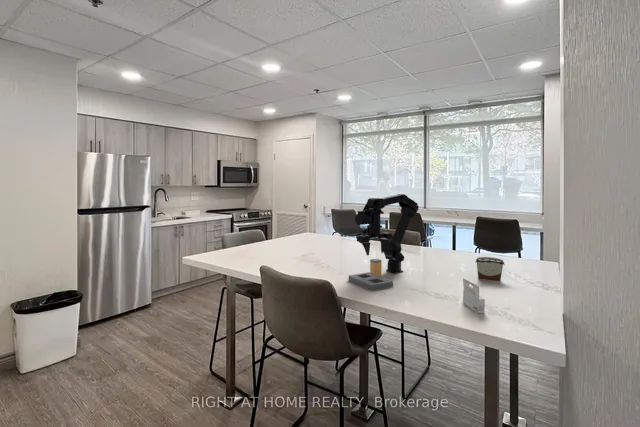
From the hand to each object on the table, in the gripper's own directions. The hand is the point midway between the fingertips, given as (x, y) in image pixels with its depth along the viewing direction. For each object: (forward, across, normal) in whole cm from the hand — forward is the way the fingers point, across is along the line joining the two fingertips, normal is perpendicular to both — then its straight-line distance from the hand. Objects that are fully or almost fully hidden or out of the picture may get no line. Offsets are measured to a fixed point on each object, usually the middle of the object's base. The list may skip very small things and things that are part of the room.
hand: (375, 254), depth 165 cm
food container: (+12, -42, +33) cm, 55 cm away
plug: (+11, 0, 0) cm, 11 cm away
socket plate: (+11, +11, +10) cm, 18 cm away
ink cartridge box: (+11, -3, +53) cm, 54 cm away
